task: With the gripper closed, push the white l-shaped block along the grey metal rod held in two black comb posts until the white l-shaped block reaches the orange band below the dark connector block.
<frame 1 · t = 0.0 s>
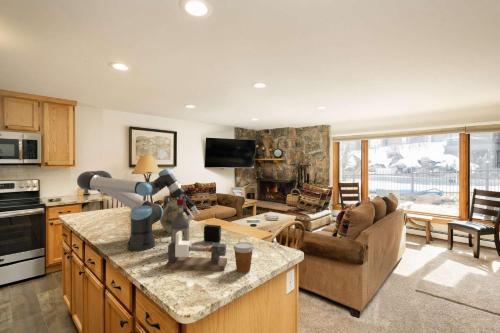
hand: (195, 217, 159), 15 cm above the counter, tool tilted 35°, fingers open, 13 cm apart
rail stand: (197, 265, 121), on the counter
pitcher: (174, 231, 181), on the counter
disposable coffee cup: (243, 270, 116), on the counter
white l-shaped block: (183, 243, 121), point 10 cm above the counter, slide at 0.0 cm
liquor: (179, 252, 138), on the counter
electronic device: (212, 241, 158), on the counter
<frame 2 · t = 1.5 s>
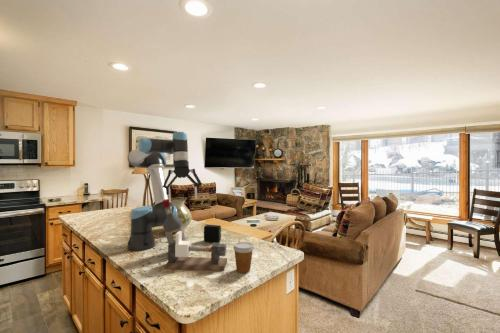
hand: (183, 200, 131), 30 cm above the counter, tool pointing down, fingers open, 13 cm apart
liquor: (179, 250, 138), point 1 cm above the counter
everything else where it was.
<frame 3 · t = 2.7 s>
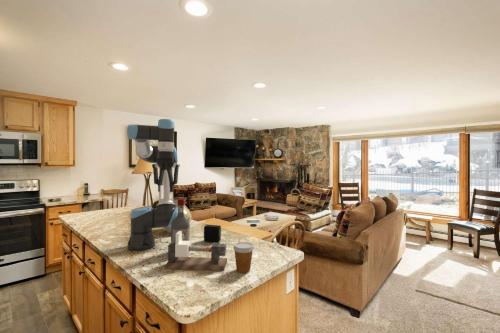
hand: (165, 198, 121), 33 cm above the counter, tool pointing down, fingers open, 3 cm apart
liquor: (179, 252, 138), on the counter
everything else where it was.
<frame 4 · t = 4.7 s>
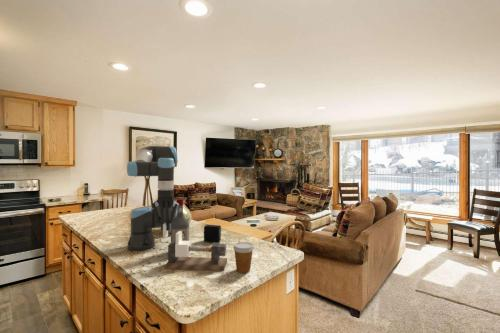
hand: (165, 236, 122), 14 cm above the counter, tool pointing down, fingers closed
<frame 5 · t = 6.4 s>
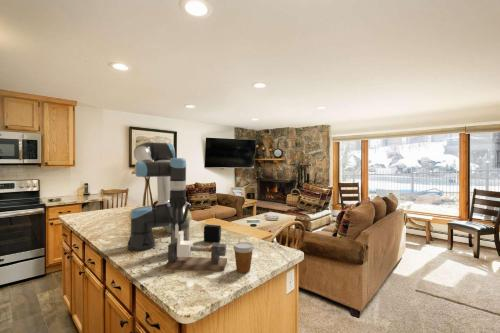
hand: (177, 237, 121), 14 cm above the counter, tool pointing down, fingers closed
white l-shaped block: (185, 243, 121), point 10 cm above the counter, slide at 0.9 cm, touching gripper
everything else where it was.
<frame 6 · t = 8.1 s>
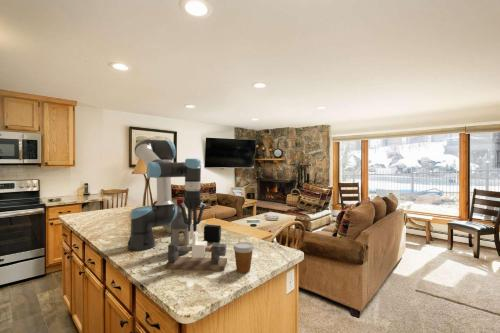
hand: (192, 237, 121), 13 cm above the counter, tool pointing down, fingers closed
white l-shaped block: (199, 244, 121), point 11 cm above the counter, slide at 8.2 cm, touching gripper
everything else where it was.
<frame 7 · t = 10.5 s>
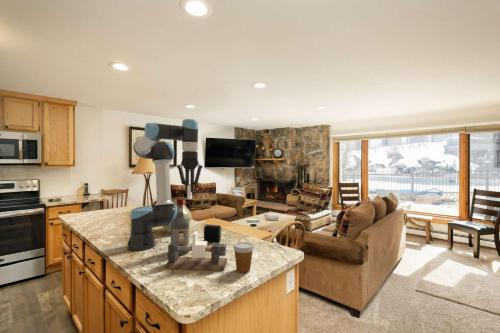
hand: (189, 198, 122), 33 cm above the counter, tool pointing down, fingers closed
white l-shaped block: (199, 244, 121), point 10 cm above the counter, slide at 8.2 cm
everything else where it was.
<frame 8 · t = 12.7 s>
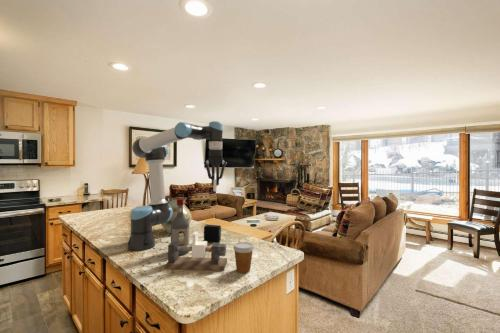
hand: (215, 191, 139), 34 cm above the counter, tool pointing down, fingers closed
nothing on the counter moved.
at the end: white l-shaped block slide at 8.2 cm; the gripper is holding nothing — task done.
